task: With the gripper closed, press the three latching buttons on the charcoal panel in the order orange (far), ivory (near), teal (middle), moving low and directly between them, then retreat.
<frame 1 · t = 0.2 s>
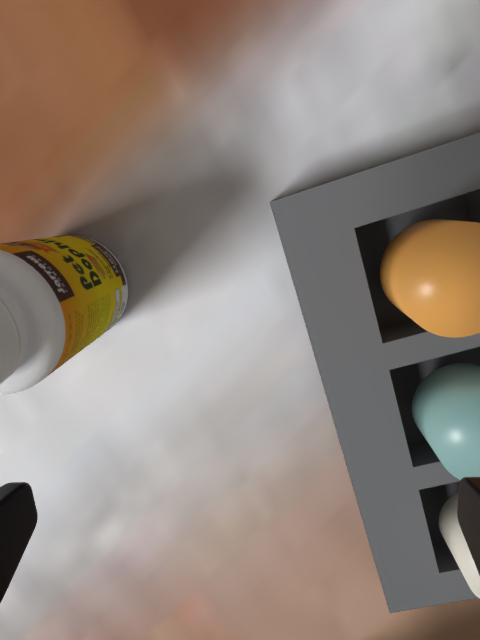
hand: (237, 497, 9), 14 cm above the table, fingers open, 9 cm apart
orange button: (444, 275, 17), point 4 cm above the table, slide at 0.0 cm
supplement bottle: (83, 284, 23), on the table
teal button: (473, 421, 19), point 4 cm above the table, slide at 0.0 cm
panel: (438, 384, 22), on the table
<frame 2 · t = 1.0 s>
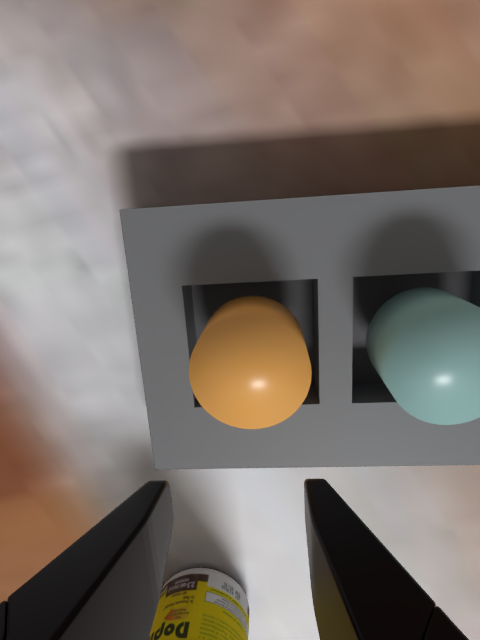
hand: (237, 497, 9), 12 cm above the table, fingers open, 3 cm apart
orange button: (251, 358, 16), point 4 cm above the table, slide at 0.0 cm
supplement bottle: (204, 595, 25), on the table
teal button: (434, 351, 16), point 4 cm above the table, slide at 0.0 cm
panel: (401, 322, 19), on the table
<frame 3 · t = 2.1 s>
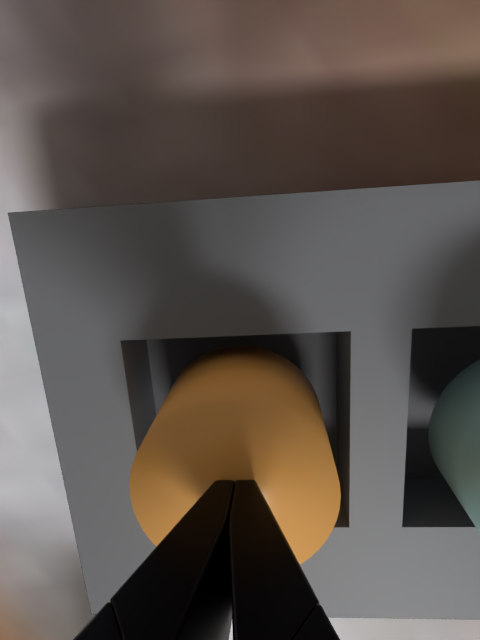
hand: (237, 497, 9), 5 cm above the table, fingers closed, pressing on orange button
orange button: (238, 452, 10), point 3 cm above the table, slide at 0.8 cm, touching gripper
panel: (473, 387, 13), on the table
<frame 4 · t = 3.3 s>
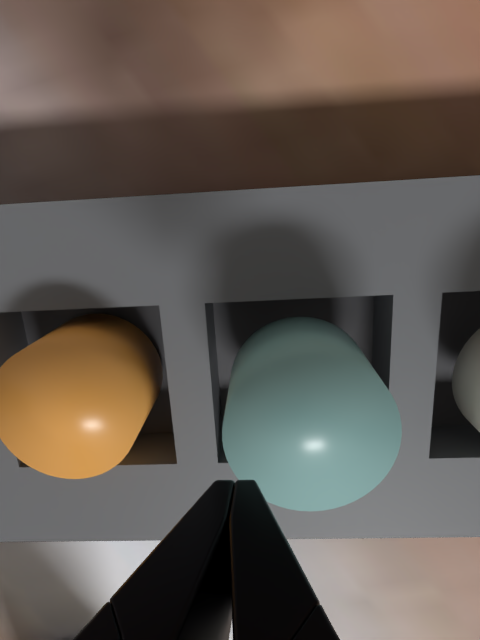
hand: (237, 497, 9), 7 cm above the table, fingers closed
orange button: (85, 390, 14), point 2 cm above the table, slide at 1.5 cm
teal button: (304, 406, 12), point 4 cm above the table, slide at 0.0 cm
panel: (292, 355, 15), on the table
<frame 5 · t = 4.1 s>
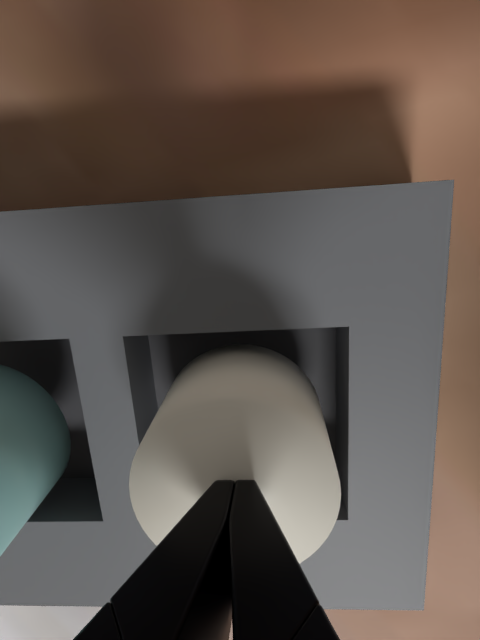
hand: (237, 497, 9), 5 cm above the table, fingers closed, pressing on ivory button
ivory button: (238, 450, 10), point 3 cm above the table, slide at 0.6 cm, touching gripper
panel: (40, 396, 14), on the table
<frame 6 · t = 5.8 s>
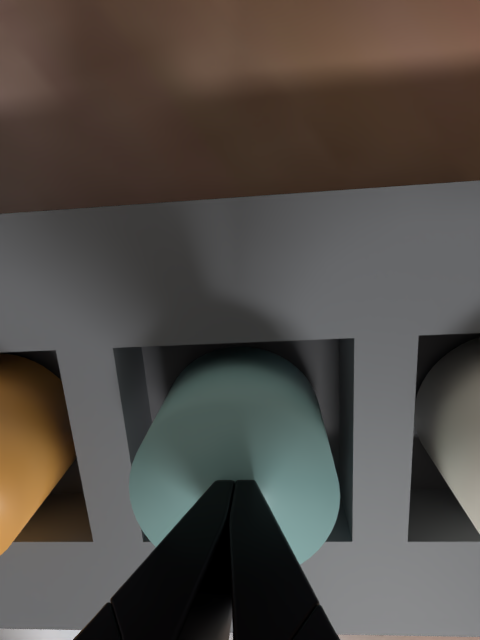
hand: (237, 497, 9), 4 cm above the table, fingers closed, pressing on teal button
teal button: (238, 452, 10), point 3 cm above the table, slide at 1.3 cm, touching gripper
panel: (244, 401, 13), on the table
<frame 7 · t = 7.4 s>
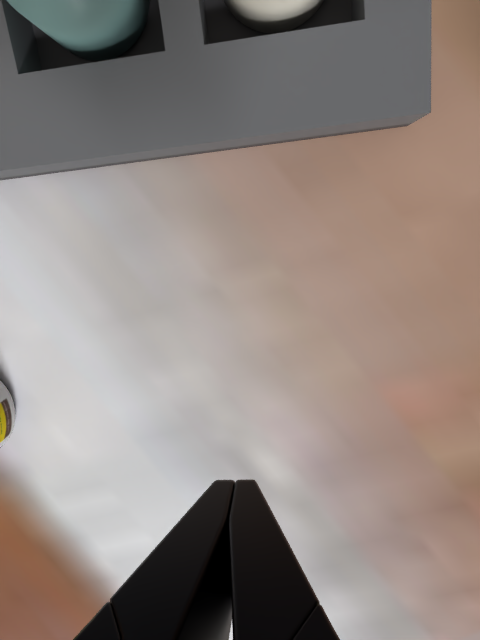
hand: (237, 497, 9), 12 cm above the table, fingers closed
panel: (102, 7, 17), on the table
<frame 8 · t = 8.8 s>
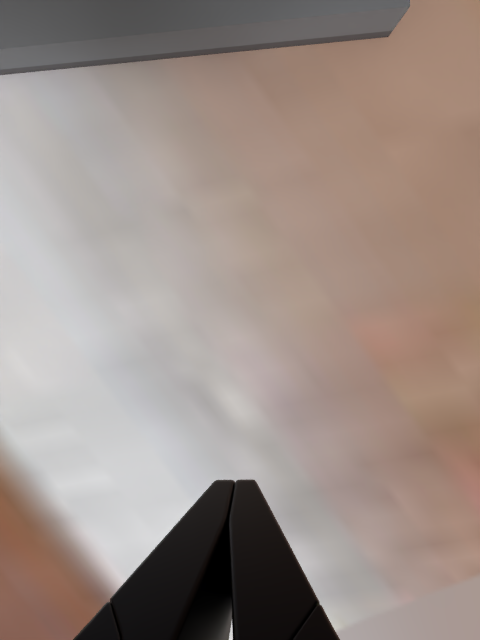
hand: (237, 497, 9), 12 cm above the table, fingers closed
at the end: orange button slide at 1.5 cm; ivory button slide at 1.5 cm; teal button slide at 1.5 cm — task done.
